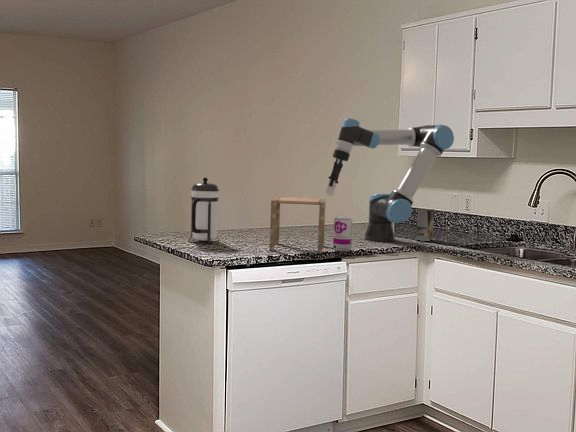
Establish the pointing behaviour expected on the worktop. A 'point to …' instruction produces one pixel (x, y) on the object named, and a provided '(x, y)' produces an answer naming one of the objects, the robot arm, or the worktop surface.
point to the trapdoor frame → (276, 223)
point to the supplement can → (342, 233)
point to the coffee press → (204, 211)
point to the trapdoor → (299, 201)
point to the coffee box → (425, 224)
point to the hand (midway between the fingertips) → (329, 194)
